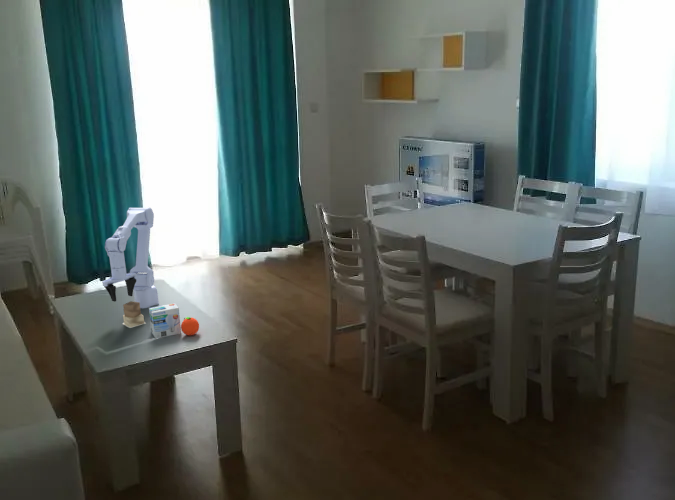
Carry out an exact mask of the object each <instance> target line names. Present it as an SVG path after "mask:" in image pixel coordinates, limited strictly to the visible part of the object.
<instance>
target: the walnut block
mask: <svg viewBox="0 0 675 500" xmlns="http://www.w3.org/2000/svg"><path fill="white" fill-rule="evenodd" d="M122 307H123V315H125V317H132V318H134V317H136V316H138V315H140V314H142V313H141V308H140V302H135V301H133V300H132V301H131V300H130V301H128V302H127V303H124V304H123V305H122Z"/></svg>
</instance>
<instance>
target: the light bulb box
mask: <svg viewBox="0 0 675 500" xmlns="http://www.w3.org/2000/svg"><path fill="white" fill-rule="evenodd" d="M148 312H149V313H148V314H149V323H150V331H151V334H152V335H153V337H154V339H159V338H166V337H171V336H174V335H175V336H176V335H182V330H181V317H180V307H178V305H177V304H176V303H175V302H174V303H170V304H169V303H168V304H163V305H159V306H158V305H157V306H151V307H148Z"/></svg>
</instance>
